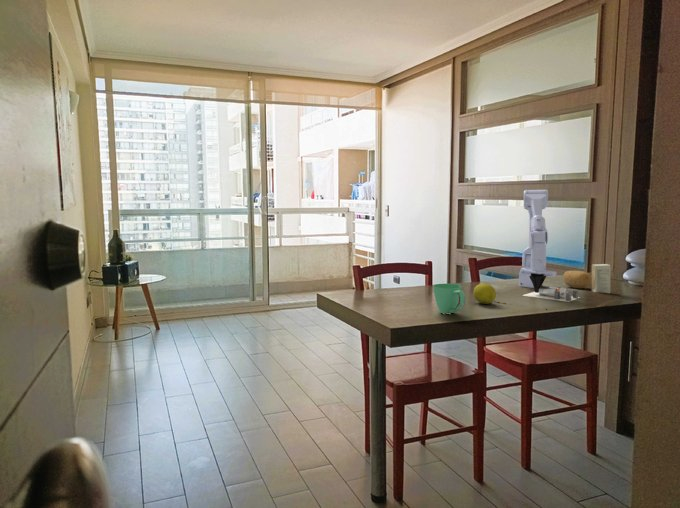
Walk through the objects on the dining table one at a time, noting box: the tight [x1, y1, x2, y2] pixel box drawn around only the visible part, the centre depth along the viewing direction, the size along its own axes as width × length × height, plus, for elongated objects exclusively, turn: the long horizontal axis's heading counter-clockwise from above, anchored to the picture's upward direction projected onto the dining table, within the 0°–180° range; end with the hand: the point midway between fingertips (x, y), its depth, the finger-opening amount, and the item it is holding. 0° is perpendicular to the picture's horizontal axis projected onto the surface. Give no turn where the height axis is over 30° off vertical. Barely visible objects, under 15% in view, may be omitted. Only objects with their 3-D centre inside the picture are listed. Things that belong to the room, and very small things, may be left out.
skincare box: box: [591, 263, 612, 294], centre depth 211 cm, size 6×4×12 cm
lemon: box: [473, 282, 497, 305], centre depth 196 cm, size 11×8×8 cm
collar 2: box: [565, 289, 579, 302], centre depth 197 cm, size 1×8×3 cm, turn 133°
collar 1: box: [554, 291, 560, 299], centre depth 200 cm, size 1×8×3 cm, turn 133°
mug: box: [432, 283, 466, 314], centre depth 178 cm, size 15×10×10 cm
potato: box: [562, 270, 592, 290], centre depth 223 cm, size 10×14×8 cm
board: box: [522, 291, 581, 303], centre depth 203 cm, size 19×11×1 cm, turn 43°
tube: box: [539, 285, 569, 298], centre depth 202 cm, size 10×4×4 cm, turn 43°
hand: (537, 292), depth 207 cm, fingers closed
